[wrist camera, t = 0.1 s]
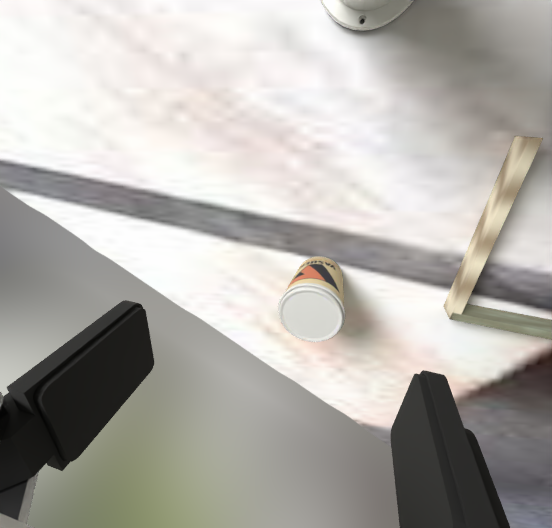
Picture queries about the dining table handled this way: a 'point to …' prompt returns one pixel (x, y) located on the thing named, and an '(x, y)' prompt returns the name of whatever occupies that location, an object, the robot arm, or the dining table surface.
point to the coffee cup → (314, 301)
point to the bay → (484, 241)
